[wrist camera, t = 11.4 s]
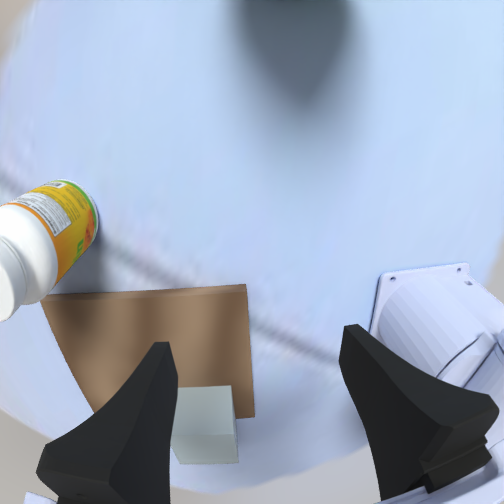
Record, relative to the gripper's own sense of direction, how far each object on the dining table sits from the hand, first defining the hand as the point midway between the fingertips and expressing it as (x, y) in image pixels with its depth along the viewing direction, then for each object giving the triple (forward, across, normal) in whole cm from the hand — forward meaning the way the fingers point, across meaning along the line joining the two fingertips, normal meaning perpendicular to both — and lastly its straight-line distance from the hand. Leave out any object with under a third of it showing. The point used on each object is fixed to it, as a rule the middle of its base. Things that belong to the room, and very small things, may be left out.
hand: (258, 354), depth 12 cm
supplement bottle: (+10, +12, -4) cm, 16 cm away
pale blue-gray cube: (+8, +4, +14) cm, 17 cm away
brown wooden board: (+9, +8, +9) cm, 15 cm away
